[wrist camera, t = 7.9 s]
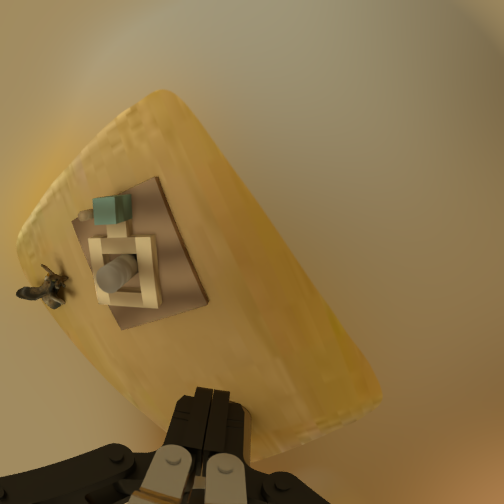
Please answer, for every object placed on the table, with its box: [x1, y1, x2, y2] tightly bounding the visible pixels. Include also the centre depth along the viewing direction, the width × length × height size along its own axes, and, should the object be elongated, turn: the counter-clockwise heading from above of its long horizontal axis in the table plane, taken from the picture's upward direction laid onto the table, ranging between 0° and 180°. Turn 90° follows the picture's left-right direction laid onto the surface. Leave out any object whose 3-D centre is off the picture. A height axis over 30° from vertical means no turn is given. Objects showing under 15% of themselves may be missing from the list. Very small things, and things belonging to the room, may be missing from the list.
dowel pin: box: [78, 209, 94, 221], centre depth 30 cm, size 1×1×4 cm
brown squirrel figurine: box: [16, 264, 68, 309], centre depth 33 cm, size 8×7×9 cm
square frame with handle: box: [88, 194, 162, 309], centre depth 31 cm, size 14×9×4 cm, turn 0°
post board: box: [72, 177, 209, 330], centre depth 30 cm, size 17×14×8 cm
